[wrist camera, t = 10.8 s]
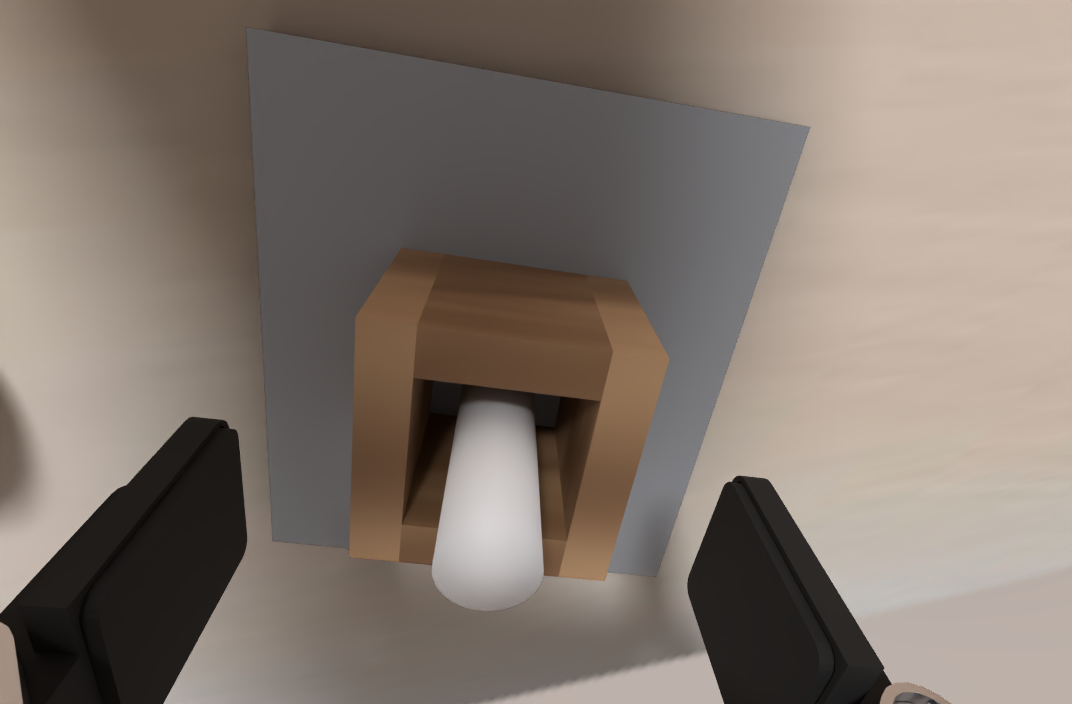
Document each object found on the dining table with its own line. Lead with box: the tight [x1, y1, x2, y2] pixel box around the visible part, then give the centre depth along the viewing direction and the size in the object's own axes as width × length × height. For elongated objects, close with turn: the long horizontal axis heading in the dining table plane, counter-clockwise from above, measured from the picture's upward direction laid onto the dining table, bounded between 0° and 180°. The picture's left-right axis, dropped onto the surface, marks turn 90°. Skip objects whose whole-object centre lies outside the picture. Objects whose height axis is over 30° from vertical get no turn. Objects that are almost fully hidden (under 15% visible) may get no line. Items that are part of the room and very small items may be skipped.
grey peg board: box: [246, 27, 810, 611], centre depth 14 cm, size 16×14×9 cm
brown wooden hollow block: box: [349, 248, 669, 581], centre depth 15 cm, size 6×6×5 cm
